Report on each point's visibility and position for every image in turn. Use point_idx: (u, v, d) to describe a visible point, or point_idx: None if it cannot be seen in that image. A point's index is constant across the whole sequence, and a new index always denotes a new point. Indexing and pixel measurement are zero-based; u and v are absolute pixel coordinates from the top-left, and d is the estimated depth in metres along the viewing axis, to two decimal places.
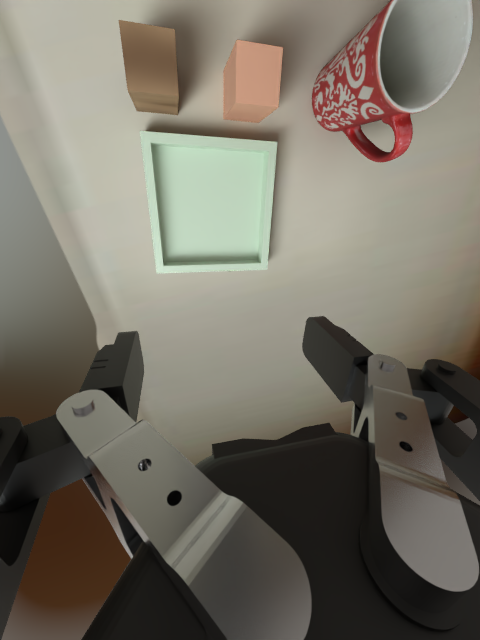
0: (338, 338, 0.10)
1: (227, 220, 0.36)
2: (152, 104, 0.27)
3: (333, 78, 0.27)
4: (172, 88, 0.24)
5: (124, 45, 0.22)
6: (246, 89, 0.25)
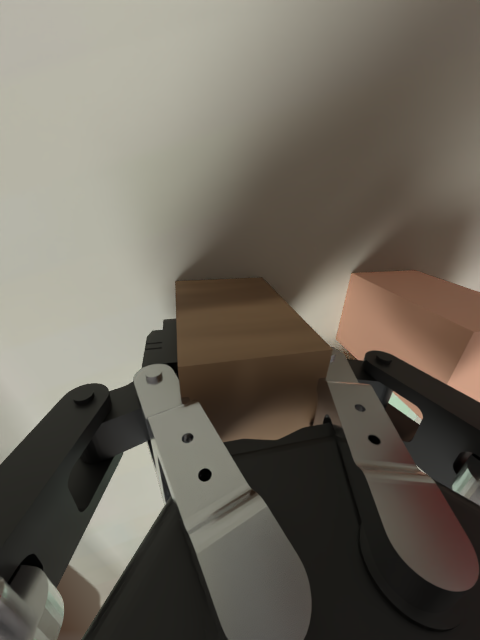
0: None
1: None
2: None
3: None
4: None
5: None
6: None
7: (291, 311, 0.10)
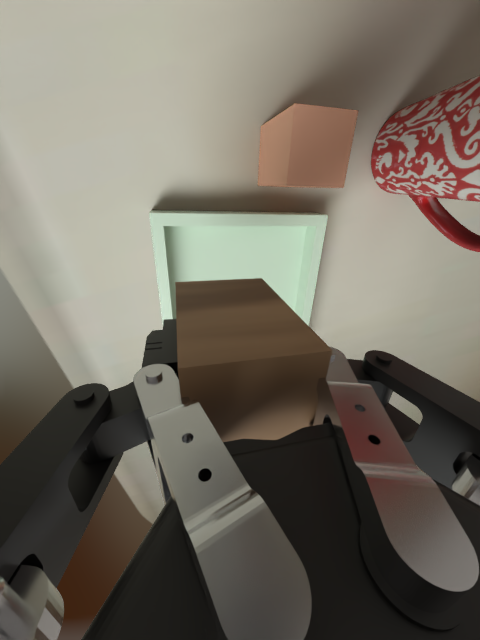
0: None
1: None
2: None
3: (416, 143, 0.20)
4: None
5: None
6: (302, 167, 0.18)
7: (291, 312, 0.10)
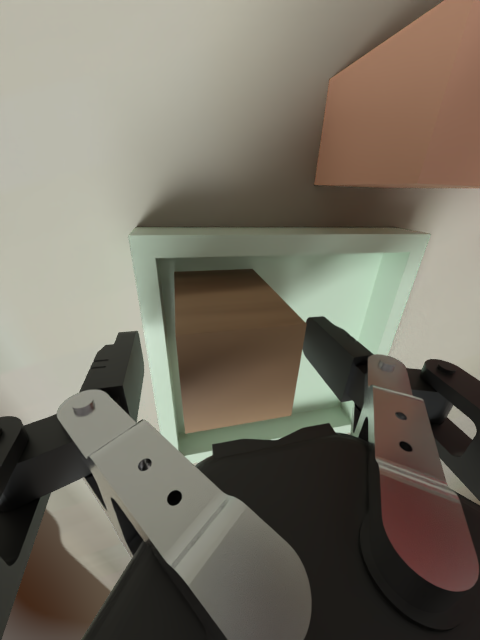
0: (338, 338, 0.10)
1: None
2: None
3: None
4: (280, 408, 0.11)
5: (184, 373, 0.09)
6: (457, 144, 0.08)
7: (275, 295, 0.11)
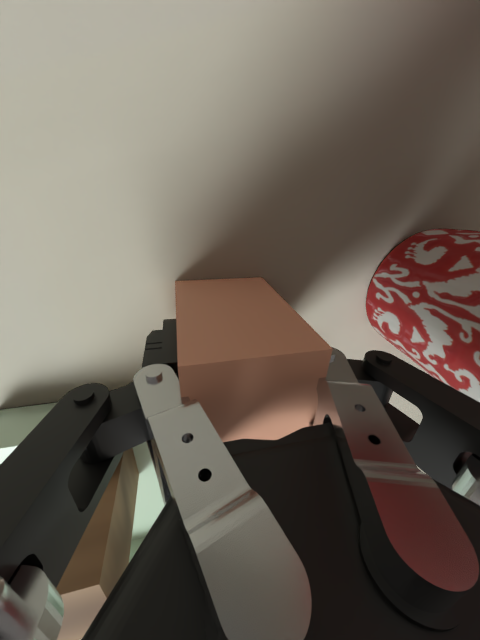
0: None
1: None
2: None
3: (446, 339, 0.11)
4: None
5: None
6: None
7: (110, 506, 0.12)
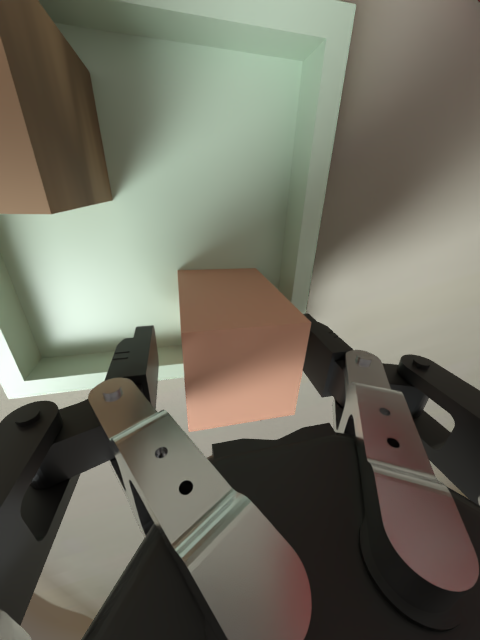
0: (319, 334, 0.11)
1: (199, 254, 0.14)
2: None
3: None
4: (16, 188, 0.06)
5: None
6: (215, 407, 0.10)
7: None
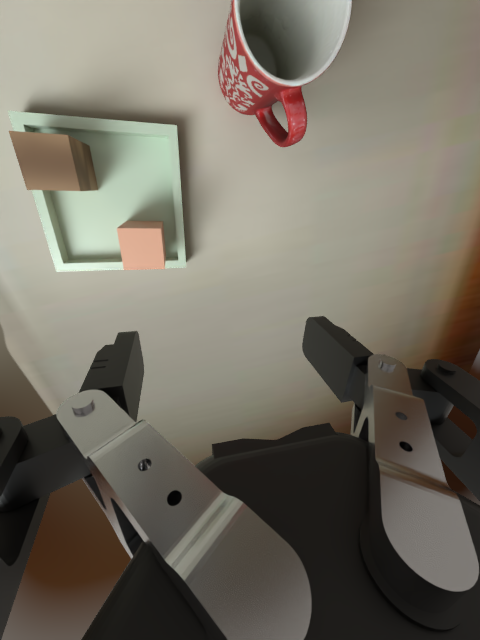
0: (338, 338, 0.10)
1: (136, 213, 0.33)
2: None
3: (223, 50, 0.24)
4: (72, 185, 0.25)
5: (17, 152, 0.23)
6: (132, 259, 0.29)
7: None
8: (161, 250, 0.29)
